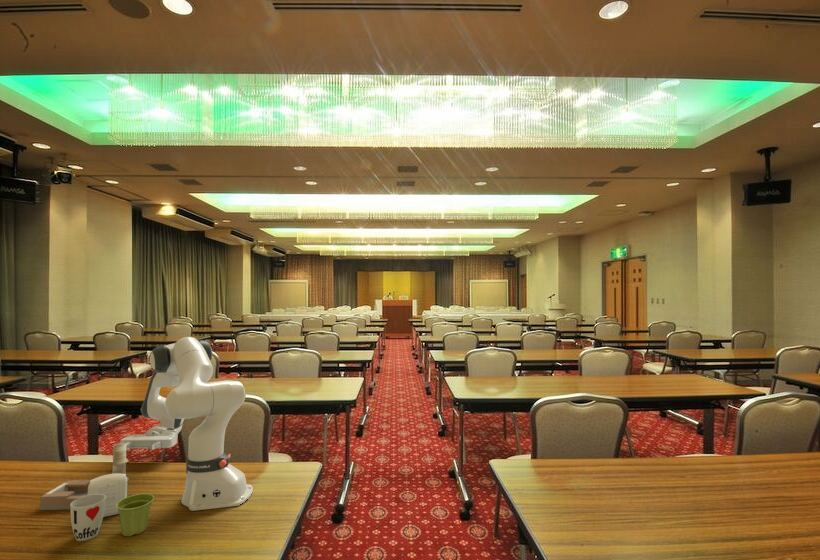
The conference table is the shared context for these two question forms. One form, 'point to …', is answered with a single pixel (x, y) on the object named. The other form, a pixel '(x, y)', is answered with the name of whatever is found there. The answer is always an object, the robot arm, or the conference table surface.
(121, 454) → the beige tall cylinder
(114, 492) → the photo printer
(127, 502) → the plant pot
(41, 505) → the keyhole dock
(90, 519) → the cup
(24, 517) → the conference table surface
